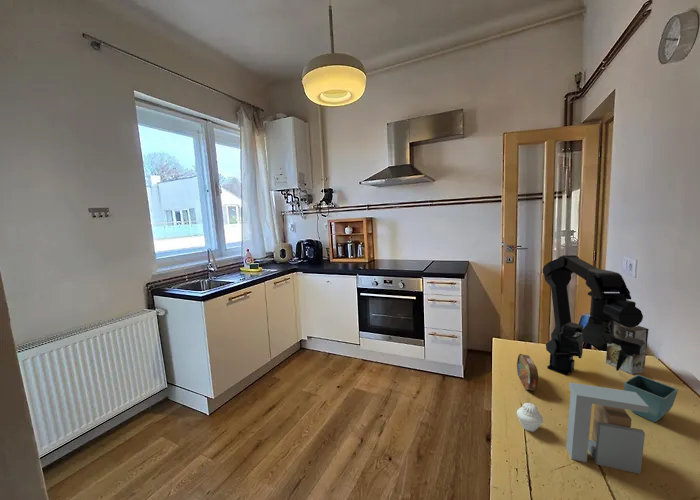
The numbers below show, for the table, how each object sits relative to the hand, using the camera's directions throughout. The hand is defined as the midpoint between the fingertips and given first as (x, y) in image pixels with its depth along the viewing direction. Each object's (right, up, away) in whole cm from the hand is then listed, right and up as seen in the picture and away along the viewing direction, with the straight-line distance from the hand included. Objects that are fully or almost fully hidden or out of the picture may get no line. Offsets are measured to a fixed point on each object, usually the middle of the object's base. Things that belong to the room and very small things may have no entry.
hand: (598, 363), depth 92 cm
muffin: (-26, -14, -9) cm, 31 cm away
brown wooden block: (-12, -15, -18) cm, 26 cm away
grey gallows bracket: (-15, -15, -19) cm, 29 cm away
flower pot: (+10, -13, -5) cm, 17 cm away
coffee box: (+26, -9, +20) cm, 34 cm away
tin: (-15, -11, +12) cm, 22 cm away
